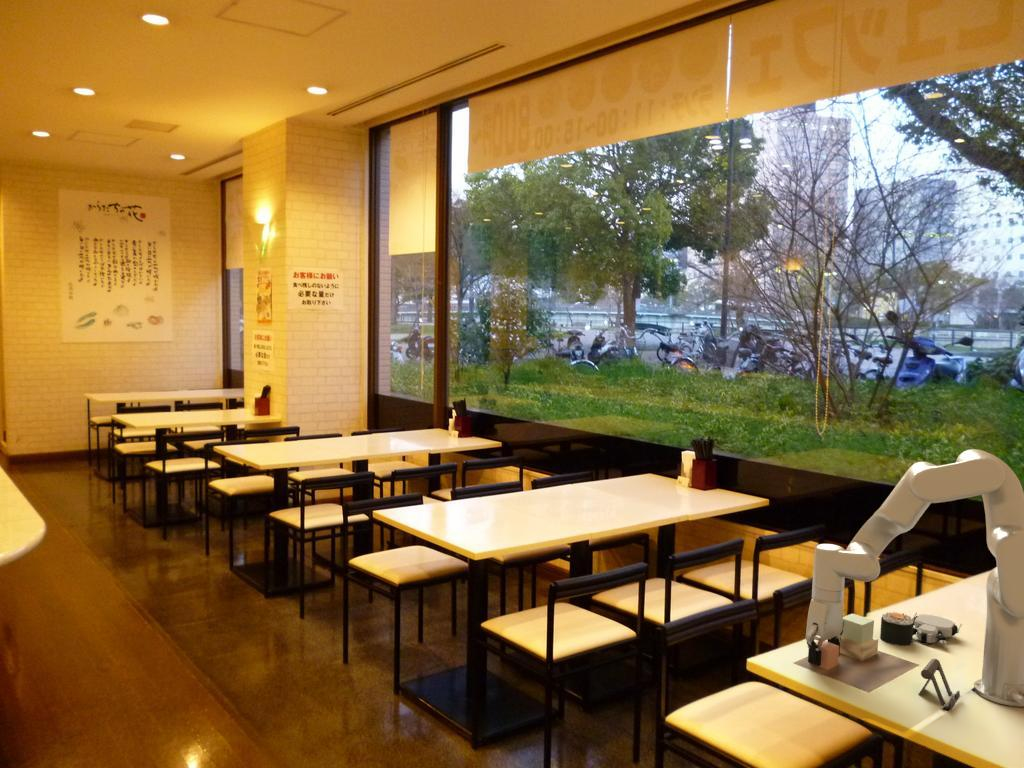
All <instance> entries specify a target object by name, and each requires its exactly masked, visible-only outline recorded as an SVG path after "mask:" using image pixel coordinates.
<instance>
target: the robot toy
mask: <svg viewBox="0 0 1024 768" xmlns="http://www.w3.org/2000/svg"><path fill="white" fill-rule="evenodd" d="M912 618H913V619H914V625H913V636H914V635H916V638H917V640H918V641H920V642H925V643H928V644H935V643H936V642H937V641H938V643H939V644H940V645H947V643H948V642H947V639H946V638H951V637H952V636H953V637H954V636H955V635H957V634H959V632H960V629H961V627H962V626H963V624H962V623H960V625H959V627H958V626H957V625H956V623H955V621H954V622H953V620H950V619H948V618H944V617H941V616H938V615H934V614H933V615H932V614H926V613H923V614H918V613H917V612H915V613H914V615H913V617H912ZM945 637H946V638H945Z"/></svg>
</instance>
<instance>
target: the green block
mask: <svg viewBox="0 0 1024 768" xmlns="http://www.w3.org/2000/svg"><path fill="white" fill-rule="evenodd" d="M843 621H844V622H845V625H844V628H843V633H842V635H841V637H843V638H846V639H849V640H852V641H855V642H857V643H860V644H862V643H864V642H866V641H869V640H871V639H873V637H874V628H875V627H874V625H875V620H874V619H872V618H868V617H865V616H862V615H858V614H856V613H850V614H848V615H845V616H843Z"/></svg>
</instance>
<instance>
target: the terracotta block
mask: <svg viewBox="0 0 1024 768" xmlns="http://www.w3.org/2000/svg"><path fill="white" fill-rule="evenodd" d="M814 642H815V643H816V644H818V641H817V640H816V641H814ZM820 650H821V651H822V652H821V665H820V666H819V667H821V668H824V669H827V670H828V669H830V668H833V667H835V666H837V665H838V656H839V646H838V645H835V644H832V643H829V642H828V641H827V640H826V641H823V643H822V645H821V648H820ZM813 665H814V664H813Z"/></svg>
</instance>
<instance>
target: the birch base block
mask: <svg viewBox="0 0 1024 768" xmlns="http://www.w3.org/2000/svg"><path fill="white" fill-rule="evenodd" d="M878 651H879V638H877V637H874V636H873V639H871V640H869V641H866V642H864V643H862V644H860V643H857V642H855V641H852V640H849V639H846V638H843V637H841V642H840V653H842V654H844V655H847V656H850V657H853V658H856V659H858V660H861V661H863V660H865V659H867V658H869V657H871V656H873V655H875V654H877V652H878Z"/></svg>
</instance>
